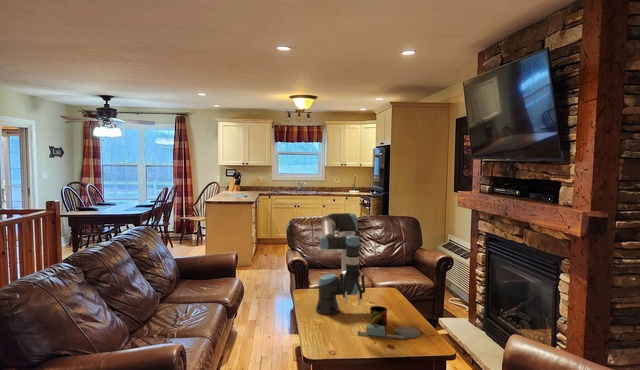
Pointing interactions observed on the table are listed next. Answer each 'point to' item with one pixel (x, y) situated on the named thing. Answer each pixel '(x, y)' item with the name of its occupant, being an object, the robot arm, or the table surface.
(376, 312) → the mug
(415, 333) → the coaster
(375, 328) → the latch block
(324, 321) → the table surface
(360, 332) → the rail
